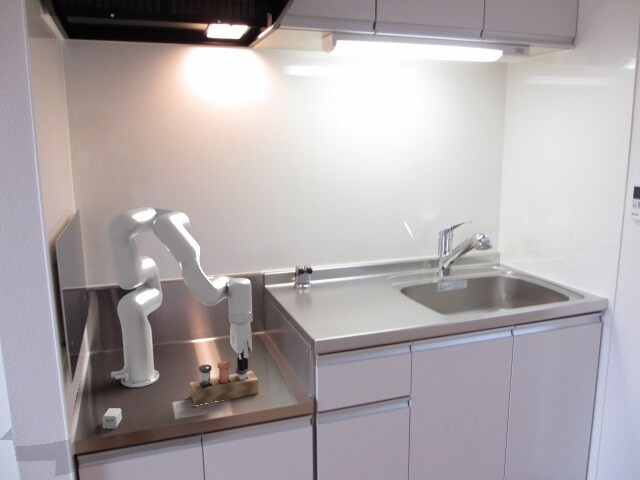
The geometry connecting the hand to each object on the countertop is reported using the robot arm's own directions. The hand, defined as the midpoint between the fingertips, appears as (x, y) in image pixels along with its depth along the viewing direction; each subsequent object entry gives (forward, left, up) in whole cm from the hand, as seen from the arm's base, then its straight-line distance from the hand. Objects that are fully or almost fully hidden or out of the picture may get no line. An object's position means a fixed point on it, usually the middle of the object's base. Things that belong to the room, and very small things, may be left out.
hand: (242, 368), depth 169 cm
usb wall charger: (-40, -2, -8) cm, 41 cm away
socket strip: (-6, 0, -8) cm, 10 cm away
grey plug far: (0, 0, -7) cm, 7 cm away
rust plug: (-6, 0, -4) cm, 7 cm away
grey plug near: (-12, 0, -4) cm, 13 cm away
